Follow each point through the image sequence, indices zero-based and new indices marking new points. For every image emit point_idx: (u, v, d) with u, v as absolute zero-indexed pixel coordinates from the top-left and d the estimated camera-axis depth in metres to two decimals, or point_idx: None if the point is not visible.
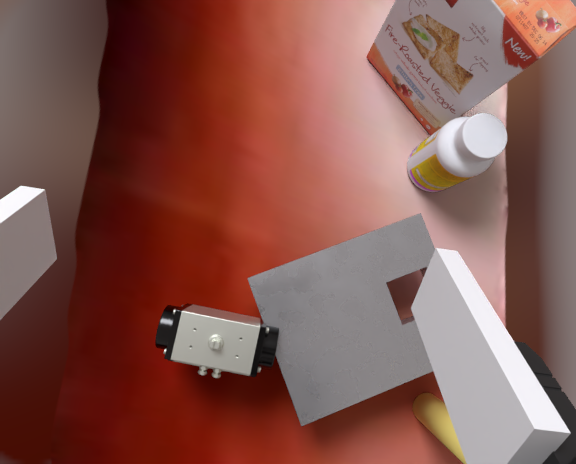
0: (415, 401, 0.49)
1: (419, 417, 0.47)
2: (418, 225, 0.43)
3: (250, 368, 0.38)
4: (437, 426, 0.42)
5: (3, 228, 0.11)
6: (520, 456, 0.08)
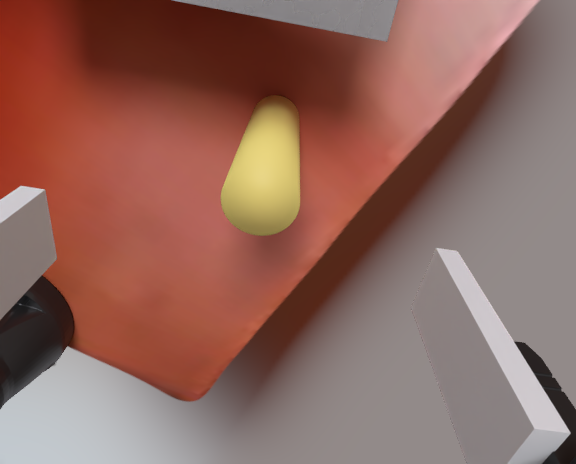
0: (262, 100, 0.29)
1: None
2: None
3: None
4: (248, 128, 0.23)
5: (3, 228, 0.11)
6: (520, 456, 0.08)
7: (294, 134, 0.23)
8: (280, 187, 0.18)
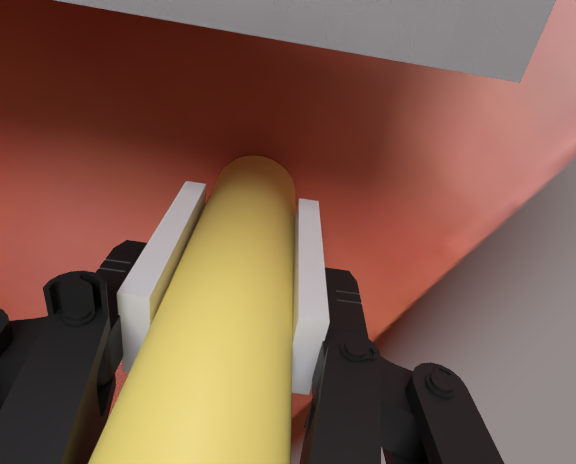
0: (230, 164, 0.17)
1: None
2: None
3: None
4: (185, 256, 0.11)
5: (192, 215, 0.13)
6: (298, 346, 0.10)
7: (282, 268, 0.11)
8: None
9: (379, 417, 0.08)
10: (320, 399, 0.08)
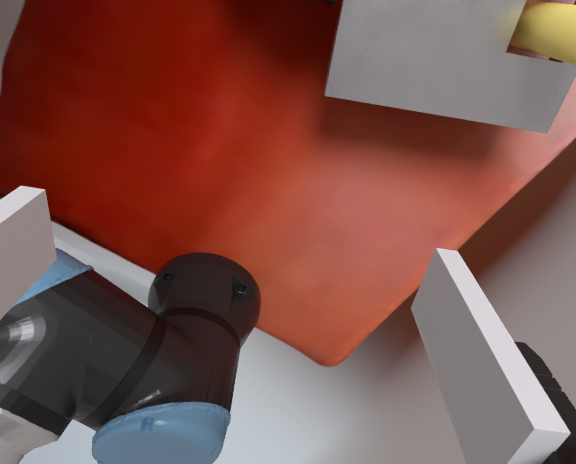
0: None
1: None
2: None
3: None
4: (539, 11, 0.30)
5: (3, 228, 0.11)
6: (520, 456, 0.08)
7: None
8: None
9: None
10: None
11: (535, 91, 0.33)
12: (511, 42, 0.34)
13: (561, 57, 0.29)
